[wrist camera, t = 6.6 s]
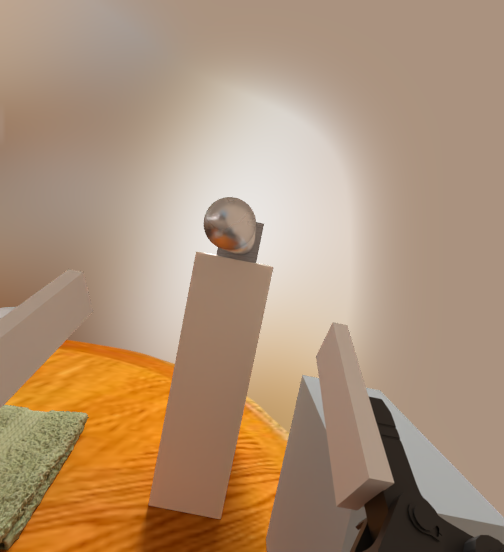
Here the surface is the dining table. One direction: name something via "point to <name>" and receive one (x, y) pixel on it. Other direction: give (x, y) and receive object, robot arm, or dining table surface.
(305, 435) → the low stand
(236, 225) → the grey piece
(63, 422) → the washcloth
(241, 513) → the dining table surface
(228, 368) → the tall stand
